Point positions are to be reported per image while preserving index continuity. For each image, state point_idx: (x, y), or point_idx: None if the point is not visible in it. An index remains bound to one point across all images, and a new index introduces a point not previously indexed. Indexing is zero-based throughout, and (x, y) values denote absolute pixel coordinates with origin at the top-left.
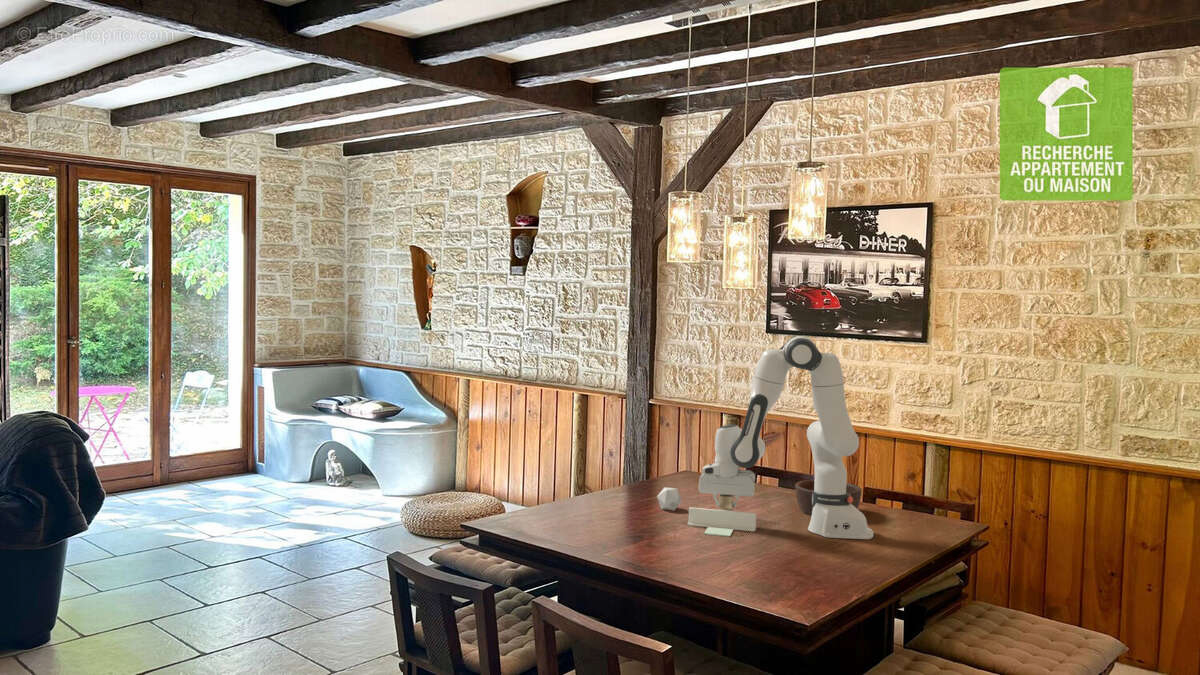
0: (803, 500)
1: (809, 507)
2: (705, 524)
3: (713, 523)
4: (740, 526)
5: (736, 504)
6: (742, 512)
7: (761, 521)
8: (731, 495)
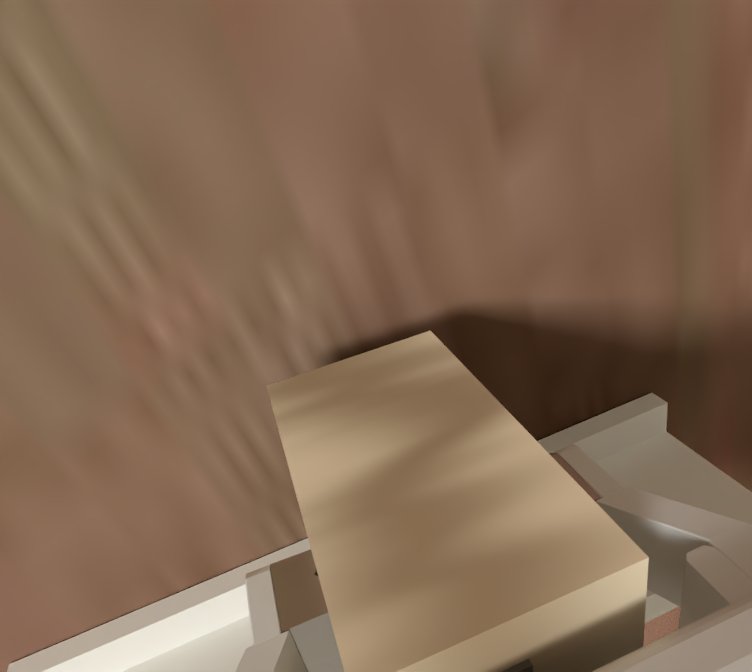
0: None
1: None
2: None
3: None
4: None
5: (591, 463)
6: (666, 604)
7: (685, 59)
8: (620, 639)
